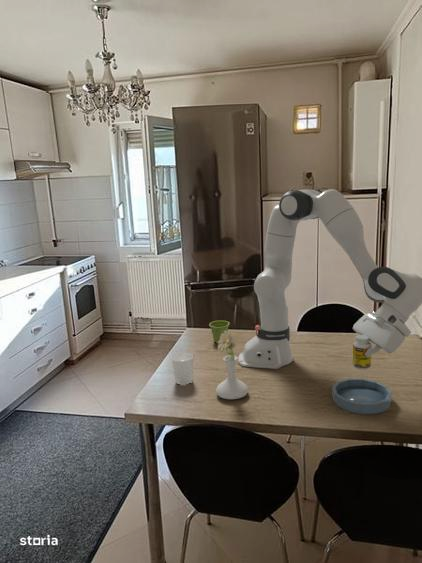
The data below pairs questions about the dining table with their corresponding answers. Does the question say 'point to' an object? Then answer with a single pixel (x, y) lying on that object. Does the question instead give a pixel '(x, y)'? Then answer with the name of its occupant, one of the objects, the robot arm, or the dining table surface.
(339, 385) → the slate dish
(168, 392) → the dining table surface
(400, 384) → the dining table surface
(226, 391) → the flower in vase
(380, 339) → the robot arm
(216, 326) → the plant pot
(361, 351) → the supplement bottle
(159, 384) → the dining table surface
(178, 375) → the white cup
